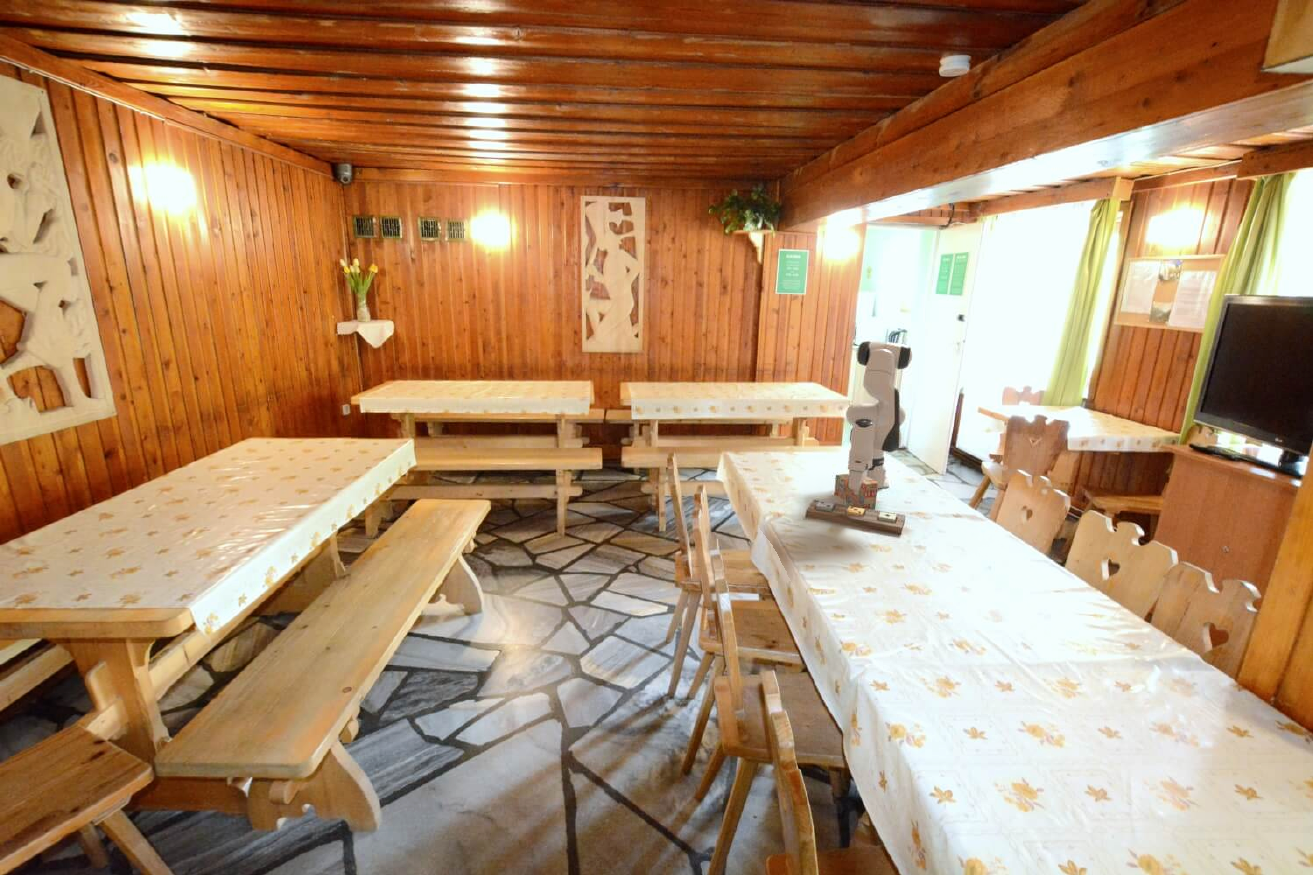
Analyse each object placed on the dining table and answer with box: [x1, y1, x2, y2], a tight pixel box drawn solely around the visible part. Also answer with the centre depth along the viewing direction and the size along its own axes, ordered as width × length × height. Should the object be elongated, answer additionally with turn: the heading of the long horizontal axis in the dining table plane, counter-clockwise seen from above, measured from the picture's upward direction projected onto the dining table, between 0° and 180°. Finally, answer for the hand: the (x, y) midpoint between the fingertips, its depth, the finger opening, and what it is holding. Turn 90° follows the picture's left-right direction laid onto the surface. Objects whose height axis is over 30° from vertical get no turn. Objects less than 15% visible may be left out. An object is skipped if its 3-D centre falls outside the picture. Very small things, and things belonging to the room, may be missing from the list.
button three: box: [846, 505, 865, 517], centre depth 233 cm, size 6×6×4 cm
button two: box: [816, 500, 835, 512], centre depth 238 cm, size 6×6×4 cm
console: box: [805, 499, 906, 535], centre depth 233 cm, size 14×36×3 cm, turn 62°
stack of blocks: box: [833, 473, 879, 510], centre depth 252 cm, size 21×6×12 cm, turn 17°
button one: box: [878, 511, 898, 523], centre depth 227 cm, size 6×6×4 cm
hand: (856, 493), depth 231 cm, fingers closed
